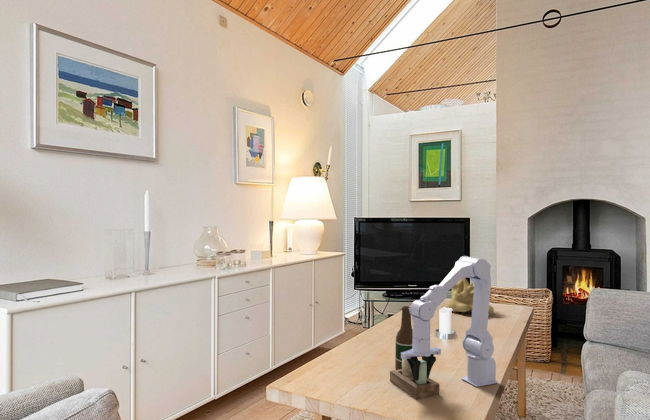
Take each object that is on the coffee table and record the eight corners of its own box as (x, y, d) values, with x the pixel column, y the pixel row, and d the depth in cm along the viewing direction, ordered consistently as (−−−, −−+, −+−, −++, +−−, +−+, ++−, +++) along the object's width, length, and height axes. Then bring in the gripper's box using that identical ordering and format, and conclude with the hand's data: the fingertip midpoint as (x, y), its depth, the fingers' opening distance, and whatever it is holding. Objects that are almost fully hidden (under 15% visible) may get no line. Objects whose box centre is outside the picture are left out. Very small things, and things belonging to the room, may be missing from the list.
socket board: (411, 377, 161) (411, 367, 161) (439, 394, 146) (439, 384, 146) (389, 380, 157) (389, 370, 157) (416, 399, 143) (416, 388, 143)
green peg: (421, 386, 150) (422, 359, 150) (428, 390, 147) (429, 362, 147) (413, 387, 149) (413, 360, 149) (419, 392, 146) (420, 364, 146)
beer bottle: (413, 367, 171) (414, 304, 171) (418, 374, 163) (419, 309, 163) (393, 367, 171) (394, 304, 171) (397, 374, 163) (398, 309, 163)
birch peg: (408, 380, 158) (408, 355, 158) (414, 384, 155) (414, 358, 155) (399, 382, 157) (400, 356, 156) (405, 385, 153) (405, 359, 153)
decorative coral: (432, 288, 273) (466, 263, 269) (452, 313, 277) (486, 289, 274) (444, 307, 248) (481, 280, 245) (466, 334, 252) (503, 308, 249)
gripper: (409, 343, 141) (409, 386, 142) (446, 338, 147) (446, 379, 147) (397, 337, 148) (397, 378, 148) (433, 332, 154) (433, 372, 154)
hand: (420, 378), depth 148 cm, fingers closed on green peg, 3 cm apart
